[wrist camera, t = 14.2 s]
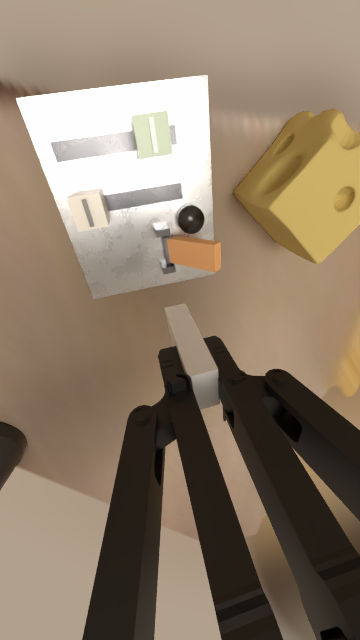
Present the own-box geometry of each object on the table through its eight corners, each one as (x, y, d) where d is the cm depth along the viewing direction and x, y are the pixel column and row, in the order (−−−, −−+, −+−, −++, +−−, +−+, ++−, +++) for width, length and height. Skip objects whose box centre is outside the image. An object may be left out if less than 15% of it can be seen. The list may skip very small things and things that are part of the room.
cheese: (291, 113, 27) (365, 94, 19) (332, 184, 32) (404, 193, 24) (226, 194, 30) (265, 207, 22) (273, 246, 35) (318, 272, 27)
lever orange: (163, 261, 30) (214, 272, 26) (159, 237, 29) (213, 245, 24) (170, 257, 31) (221, 267, 27) (167, 234, 29) (220, 241, 25)
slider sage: (137, 159, 24) (139, 159, 21) (129, 121, 23) (131, 114, 19) (165, 154, 25) (173, 154, 21) (161, 116, 23) (168, 109, 19)
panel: (94, 292, 34) (92, 306, 30) (23, 102, 22) (7, 93, 19) (210, 268, 35) (219, 279, 32) (201, 80, 24) (213, 68, 21)
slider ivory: (83, 222, 26) (77, 232, 23) (72, 192, 25) (65, 198, 21) (110, 218, 27) (108, 227, 23) (101, 188, 25) (98, 193, 22)
